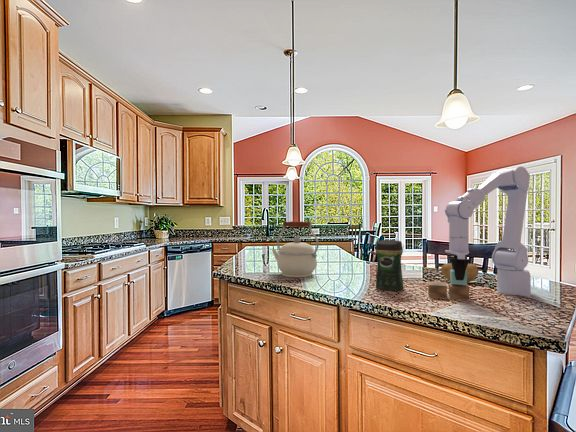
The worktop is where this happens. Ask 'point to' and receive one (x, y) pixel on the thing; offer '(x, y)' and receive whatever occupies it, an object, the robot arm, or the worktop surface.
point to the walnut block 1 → (437, 290)
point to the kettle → (296, 254)
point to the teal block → (454, 281)
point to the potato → (471, 271)
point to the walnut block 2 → (458, 291)
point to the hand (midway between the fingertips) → (458, 278)
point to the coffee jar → (389, 265)
